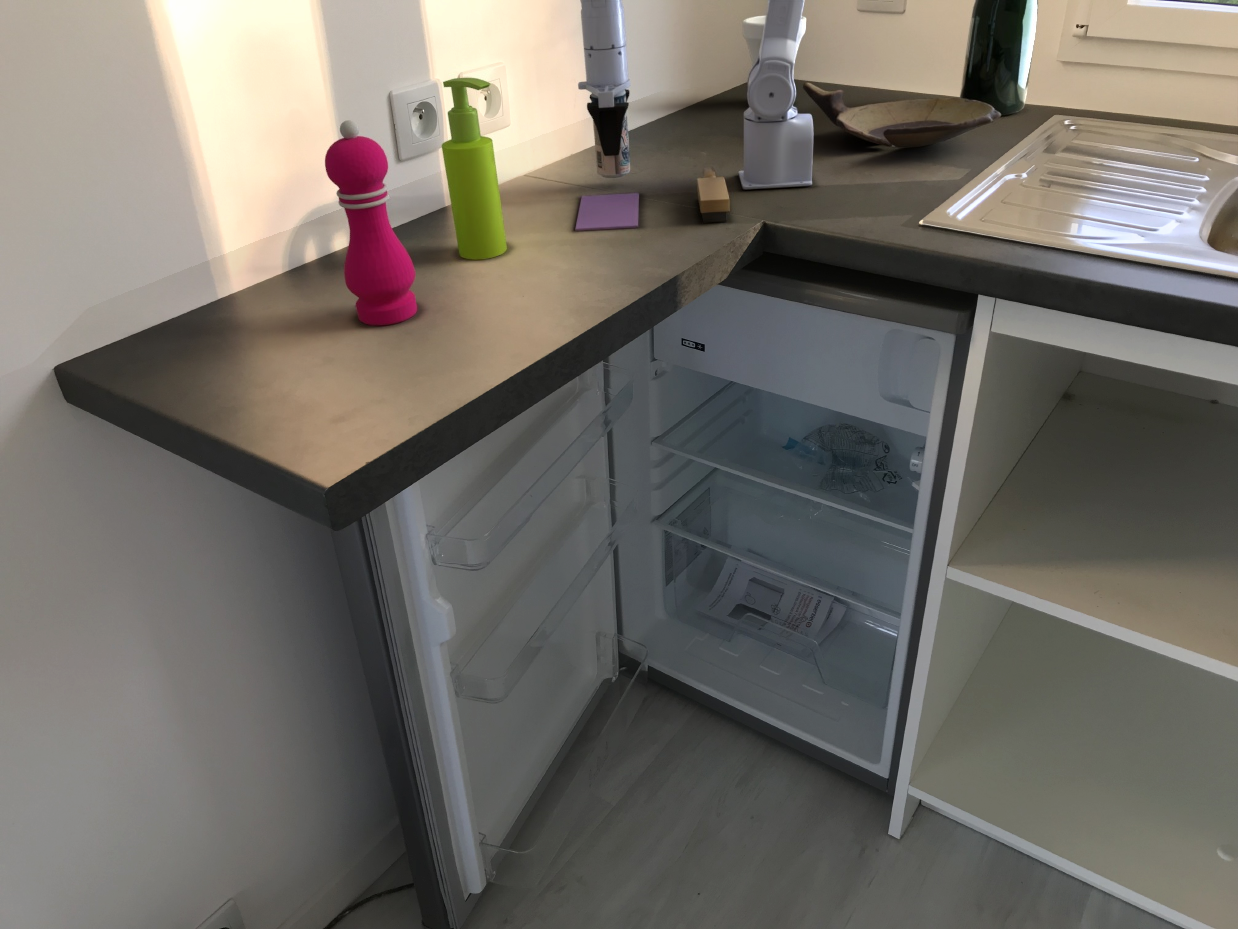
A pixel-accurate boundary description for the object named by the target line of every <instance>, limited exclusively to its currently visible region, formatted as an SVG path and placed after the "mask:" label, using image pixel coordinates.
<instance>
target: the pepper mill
mask: <svg viewBox="0 0 1238 929" xmlns="http://www.w3.org/2000/svg"><path fill="white" fill-rule="evenodd" d="M339 132H340V135H341V136H342V138H339V139H338V140H336V141H334V142H333V143H332V144H331V145H330V146H329V147H328V149H327V151H326V153H325V157H324V166H325V167H324V168H325V173H326V175H327V177H328V179H329V180H330V181H331V183H333V184H334V185H335V186H336V187H337V188H338V189H337V190H336V192H335V193H336V196H337V197H338V205H339V207H341V208H343V209H344V212H345V216H346V219H347V222H348V228H349V241H348V248H347V252H346V254H345V255H346V256H345V260H344V266H343V267H344V268H343V269H344V270H343V276H344V281H345V285H346V287H347V289H348V290H349V292H350V293H351V294H353V295H354V296H356V297H357V300H356V301H355V308H356V313H357V317H358V320H359V321H360V322H361V323H363V324H365V325H369V326H391V325H395V324H398V323H402V322H405V321H407V320H410V319H411V318H412V317H414V316H415V315H416V313H417V312H418V304H417V299H416V294H415V293H414V292H413V291H412V290H410V289H411V288H412V285H413V284H414V282H415V279H416V269H415V267H414V263H413V261H412V259H411V256H410V254H409V252H408V251H407V249H406V247H405V246H404V245H403V244H402V243H401V240H399V238H398V237H397V235H396V233H395V232H394V230H393V228H392V225H391V223H390V219H389V214H388V209H387V202H388V201H389V200H390V195H389V193H388V188H389V187H388V185H387V184H386V183H384V179H385V178H386V176H387V175H388V173H389V172H388V170H389V162H388V156H387V155H386V152H385V151H384V149H383V147H382V146H381V144H380V143H378V142H377V141H375V140H374V139H372V138H369V137H367V136H362V135H359V134H360V133H359V132H360V129H359V126H358V123H356V122H355V121H353V120H350V119H349V120H343V122H342V123H341V124H340V125H339Z"/></svg>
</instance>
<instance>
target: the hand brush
mask: <svg viewBox="0 0 1238 929" xmlns="http://www.w3.org/2000/svg"><path fill="white" fill-rule="evenodd" d="M701 175H702V177H698V178H696V188H697V189H696V190H697V197H698V203H699V209H700V213H701V217H702V222H703V224H704V223H705V224H708V223H726V222H728V212H730V197H729V191H728V188H727V183H726V180H725V176H717V174H716V171H715V168H714V167H712V166H711V165H710V166H709V165H707V166H705V167H704V168H703V169H702V172H701Z"/></svg>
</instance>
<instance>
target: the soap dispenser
mask: <svg viewBox="0 0 1238 929" xmlns="http://www.w3.org/2000/svg"><path fill="white" fill-rule="evenodd" d="M442 84H443V88H450V89H451V96H452V102H453V107H451V108H450V110H448V111H447V118H448V120H447V121H448V125H449V131H450V139H448V140H445V141H444V142H442V144H441V150H442V157H443V163H444V168H445V174H446V181H447V187H448V193H449V199H450V205H451V211H452V218H453V225H454V230H455V236H456V241H457V249H458V254H459V256H460V257H461V258H462V259H463V258H464V259H466V260H475V261H476V260H487V259H492V258H496V257H500V256H501V255H503V254H505V252H506V251H507V249H508V246H507V238H506V231H505V223H504V216H503V209H502V202H501V195H500V194H501V193H500V186H499V179H498V173H497V165H496V164H497V163H496V157H495V150H494V143H493V139H492V138H491V137H488V136H485V135H484V136H483V135H482V134H481V127H480V122H479V114H478V109H477V108H476V107H473V106H472V105H470V103H469V97H468V96H469V95H468V88H469V89H473V90H476V91H481V90H484V89H487V88H489V87H490V86H491V82H489V81H487V80H484V79H481V78H477V77H455V78H450V79H448V80H445V81H442Z"/></svg>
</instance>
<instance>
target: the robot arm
mask: <svg viewBox="0 0 1238 929" xmlns="http://www.w3.org/2000/svg"><path fill="white" fill-rule="evenodd" d="M804 5H805V0H768V1H767V7H766V13H765V14H766V18H765V24H764V30H763V36H762V40H761V45H760V50H759V55H758V59H757V61H756V63H755V64H754V66H753V67H752V66H751V68H750V71H749V72H748V74H747V81H746V85H747V92H746V97H747V98H746V99H747V104H748V108H747V109H746V110H744V112H743V170H739V171H738V177H739V180H740V184H741V187H742V189H743V190H759V189H777V188H795V187H797V188H798V187H810V186H813V181H812V180H813V179H812V178H813V156H814V155H813V154H814V121H813V116H812V114H811V113H798V108H797V107H796V106H794V104H795V101H796V97H797V89H796V84H795V80H794V70H793V68H794V69H795V63H796V58H795V53H796V44H797V38H798V32H799V27H800V22H801V16H803V10H804ZM580 6H581V10H580V20H581V33H582V43H583V44H582V45H583V55H584V57H583V58H584V66H585V67H584V68H585V79H586V80H585V81H579V82H578V83H577V87H578V90H586V91H588V92H589V93H590V94H589V100H590V102H587V103H586V110H587V112H588V114H589V116H590V117H591V119H592V122H593V121H594V123H595V126H596V128H597V131H598V135H599V139H600V143H601V147H602V151H603V153H604V156H615V155H619V152H620V146H621V133H622V125H623V120H624V117H625V114H626V111H627V112H628V108H629V104H630V103H629V102H628V100H629V97H630V95H631V94H630V92H631V91H630V90H629V89H628V88H630V86H631V80H630V78H629V70H628V68H629V67H628V53H627V38H626V36H627V35H626V21H625V20H626V19H625V8H624V5H623V0H580ZM794 62H795V63H794ZM623 90H625V92H626V102H625V103H616V101H614V96H615V95H616V94H618V93H620V92H621V91H623ZM592 93H593V94H594V95H596V96H598V102H591V94H592Z"/></svg>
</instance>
